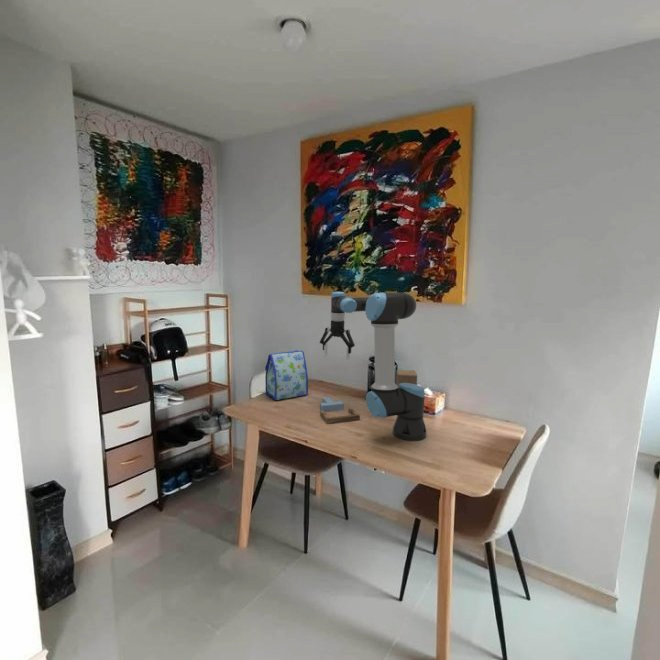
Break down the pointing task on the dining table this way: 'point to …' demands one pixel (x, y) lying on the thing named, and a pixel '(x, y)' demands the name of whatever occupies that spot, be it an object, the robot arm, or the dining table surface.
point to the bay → (341, 417)
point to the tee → (331, 405)
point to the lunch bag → (286, 375)
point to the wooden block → (406, 377)
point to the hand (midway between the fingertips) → (336, 357)
